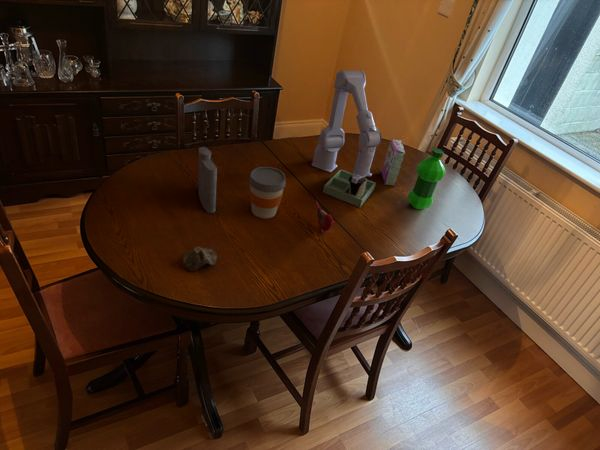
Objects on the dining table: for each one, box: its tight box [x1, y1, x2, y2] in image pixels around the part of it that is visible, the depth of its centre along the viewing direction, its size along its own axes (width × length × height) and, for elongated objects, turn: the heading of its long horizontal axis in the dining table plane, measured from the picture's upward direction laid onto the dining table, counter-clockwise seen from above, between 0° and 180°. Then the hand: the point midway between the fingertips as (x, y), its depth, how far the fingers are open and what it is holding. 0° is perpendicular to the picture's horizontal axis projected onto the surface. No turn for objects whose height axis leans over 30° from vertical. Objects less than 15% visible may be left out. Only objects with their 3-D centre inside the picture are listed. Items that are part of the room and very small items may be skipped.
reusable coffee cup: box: [248, 166, 286, 219], centre depth 157 cm, size 12×13×15 cm
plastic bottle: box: [407, 147, 446, 210], centre depth 173 cm, size 10×10×25 cm
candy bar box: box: [381, 138, 406, 187], centre depth 189 cm, size 11×5×16 cm, turn 179°
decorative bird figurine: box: [315, 199, 334, 235], centre depth 156 cm, size 3×18×10 cm, turn 15°
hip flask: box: [197, 146, 218, 214], centre depth 155 cm, size 16×4×20 cm, turn 23°
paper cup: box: [348, 177, 368, 199], centre depth 174 cm, size 6×6×8 cm
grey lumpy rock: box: [182, 246, 218, 272], centre depth 133 cm, size 8×7×10 cm
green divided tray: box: [322, 168, 377, 208], centre depth 180 cm, size 16×16×4 cm
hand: (356, 191), depth 175 cm, fingers closed on paper cup, 6 cm apart
